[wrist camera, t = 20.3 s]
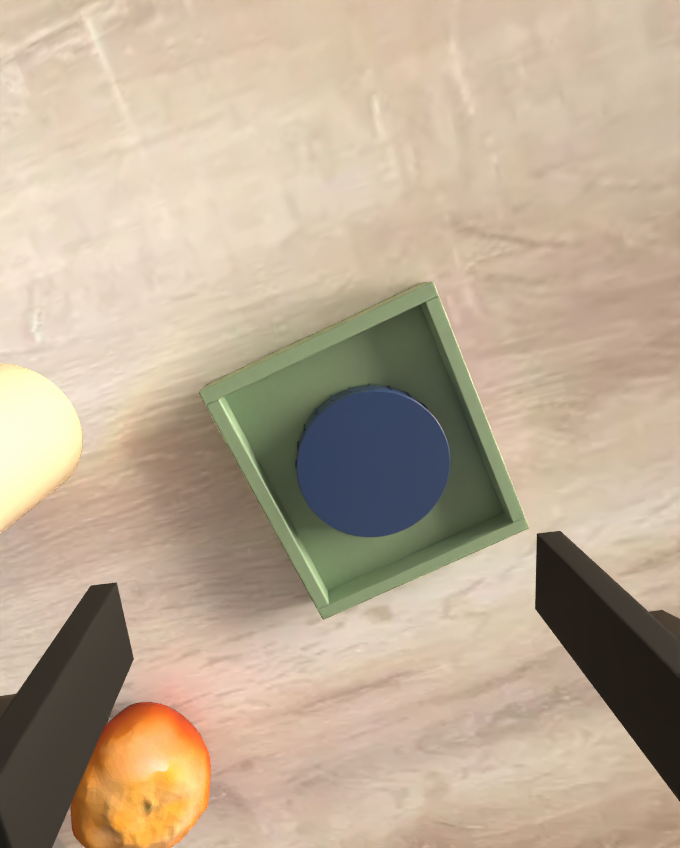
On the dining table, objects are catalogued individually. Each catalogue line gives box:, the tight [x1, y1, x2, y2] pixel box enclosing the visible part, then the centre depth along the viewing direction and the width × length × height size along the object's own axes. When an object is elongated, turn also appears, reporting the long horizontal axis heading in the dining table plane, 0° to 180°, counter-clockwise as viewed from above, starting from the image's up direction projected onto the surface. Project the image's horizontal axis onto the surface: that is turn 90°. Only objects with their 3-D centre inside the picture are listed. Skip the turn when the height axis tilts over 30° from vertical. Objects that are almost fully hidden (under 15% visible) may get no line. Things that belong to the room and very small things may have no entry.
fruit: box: [71, 702, 211, 848], centre depth 32 cm, size 8×8×8 cm
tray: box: [199, 282, 529, 619], centre depth 30 cm, size 16×14×2 cm
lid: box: [295, 383, 450, 537], centre depth 29 cm, size 9×9×2 cm
